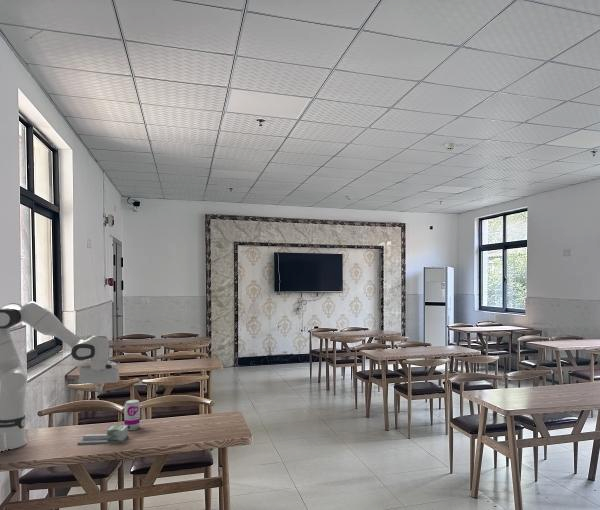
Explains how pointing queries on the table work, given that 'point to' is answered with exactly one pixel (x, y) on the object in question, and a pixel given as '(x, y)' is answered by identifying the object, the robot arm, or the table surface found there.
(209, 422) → the table surface
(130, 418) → the supplement can
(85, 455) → the table surface
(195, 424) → the table surface
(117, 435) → the keeper
